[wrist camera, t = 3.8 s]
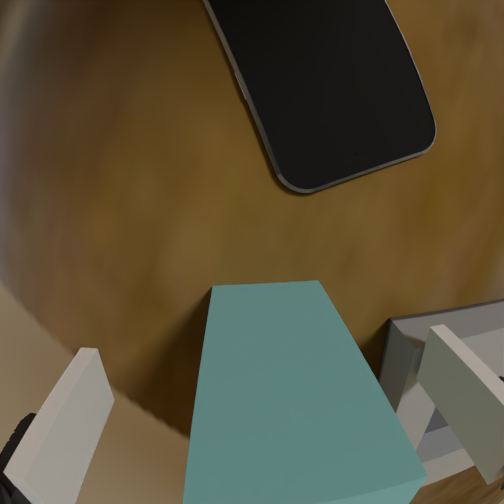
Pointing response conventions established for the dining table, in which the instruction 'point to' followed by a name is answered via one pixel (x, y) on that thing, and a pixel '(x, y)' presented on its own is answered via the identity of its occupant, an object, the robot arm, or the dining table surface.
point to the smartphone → (326, 86)
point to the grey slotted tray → (414, 396)
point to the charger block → (291, 407)
